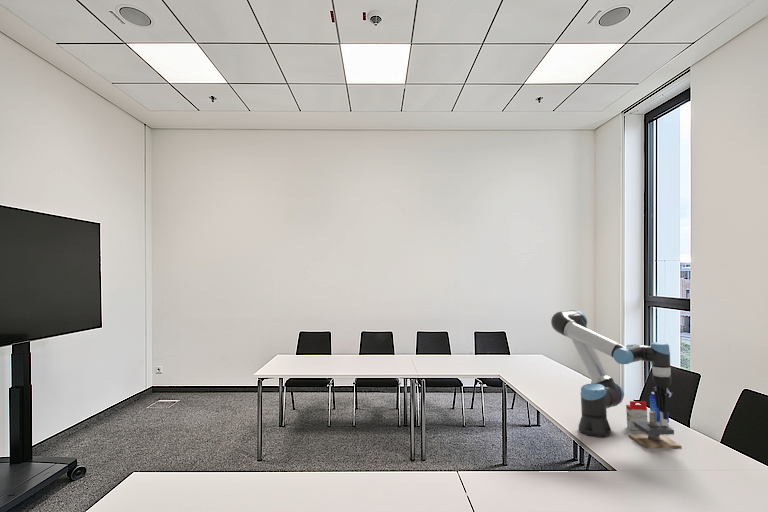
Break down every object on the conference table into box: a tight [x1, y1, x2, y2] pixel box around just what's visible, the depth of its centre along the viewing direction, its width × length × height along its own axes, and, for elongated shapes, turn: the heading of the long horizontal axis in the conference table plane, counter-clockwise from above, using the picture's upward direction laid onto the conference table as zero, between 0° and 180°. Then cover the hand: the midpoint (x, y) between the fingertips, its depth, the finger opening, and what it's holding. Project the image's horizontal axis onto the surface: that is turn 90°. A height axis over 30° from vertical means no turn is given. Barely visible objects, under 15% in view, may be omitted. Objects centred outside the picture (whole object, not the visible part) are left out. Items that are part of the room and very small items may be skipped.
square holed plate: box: [634, 421, 675, 436], centre depth 217 cm, size 12×12×2 cm
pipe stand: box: [628, 410, 683, 449], centre depth 217 cm, size 16×16×14 cm
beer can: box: [649, 391, 670, 424], centre depth 244 cm, size 8×8×16 cm
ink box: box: [625, 400, 649, 431], centre depth 236 cm, size 8×5×15 cm, turn 84°
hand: (664, 425), depth 217 cm, fingers closed
